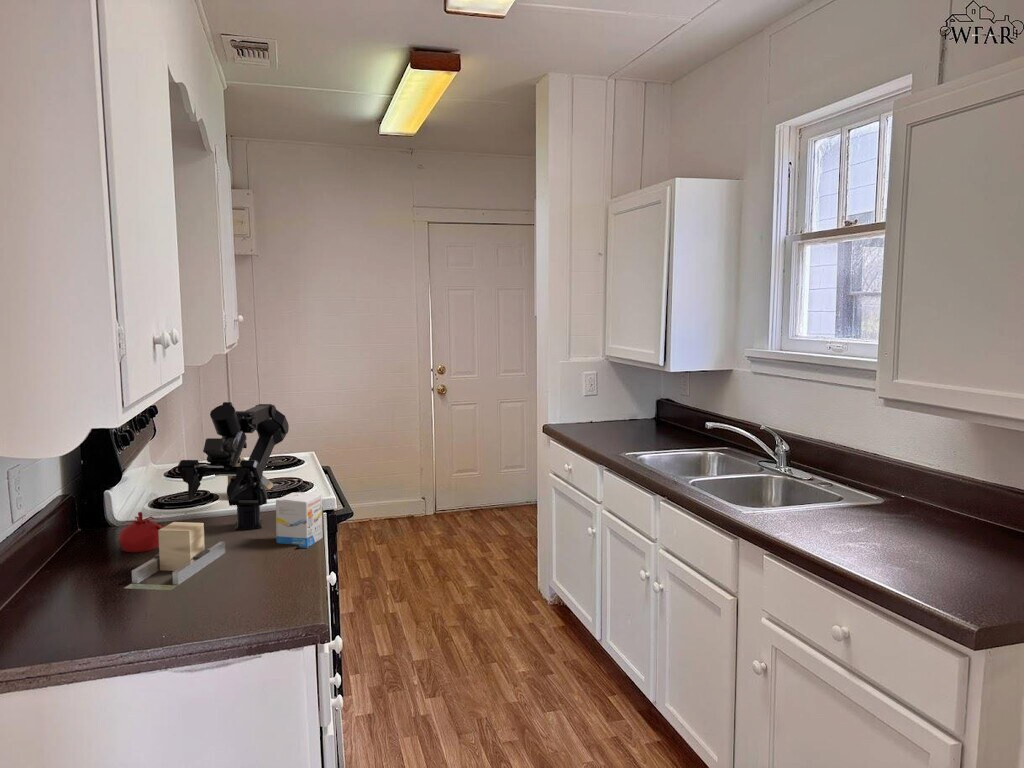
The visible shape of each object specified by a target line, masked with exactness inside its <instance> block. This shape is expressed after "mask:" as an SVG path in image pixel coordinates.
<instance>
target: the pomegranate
mask: <svg viewBox="0 0 1024 768" xmlns="http://www.w3.org/2000/svg"><path fill="white" fill-rule="evenodd" d="M137 515H138V516H134V519H136V520H126V521H123V522H121V523H122V524H125V523H128V522H129V523H130V524H127V525H126V526H125V527H123V529H121V531H120V532H119V537H118V542H119V544H120V548H121V550H122V551H123V552H127V553H134V554H135V553H144V552H149V551H153V550H155V549H159V533H158V530H159V529H161V528H163V526H162V525H161V524H158V522H157V521H155V517H153V516H149V517H147V518H146V517H145V519H143V518H144V517H143V512H142V511H138V512H137ZM153 520H154V521H153ZM156 520H159V519H158V518H156Z"/></svg>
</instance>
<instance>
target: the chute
mask: <svg viewBox="0 0 1024 768" xmlns="http://www.w3.org/2000/svg"><path fill="white" fill-rule="evenodd" d="M224 554H226V542H225V541H219V542H218V543H215V544H214V545H213V546H211V547H210V548H208V549H205V550H203V551H202V552H200V553H199V554H197V555H196V556H194V557H193V559H192V560H191V561H189V562H188V563H186V564H184V565H183V566H181V567H180V568H178V569H177V570H175V571H172V573H171V574H172V584H153V583H150V584H149V583H148V584H145V583H141V582H142V581H144V580H146V579H148V578H149V577H151V576H153V574H156V573H157V572H159V571H161V570H160V557H159V552H158V553H157V554H155V555H154V556H153V558H151V559H150V560H148V561H146V562H144V563H142V564H141V565H139V566H137V567H135V568H134V569H132V570H131V583H130V584H128V585H127V586H125V587H124V589H130V590H133V589H135V590H152V591H153V590H157V591H158V590H159V591H172V590H173V589H175V588H176V587H178V586H179V585H181V584H182V583H183V582H185V581H186V580H188V579H190V577H192V576H194V575H196V573H198V572H199V571H201V570H202V569H204V568H206V566H208V565H209V564H211V563H213V562H214V561H216V560H217V559H219V558H220V557H221V556H223V555H224Z"/></svg>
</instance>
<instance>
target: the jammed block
mask: <svg viewBox="0 0 1024 768" xmlns="http://www.w3.org/2000/svg"><path fill="white" fill-rule="evenodd" d="M204 527H205V525H204V522H186V521H185V522H182V521H180V522H179V521H173V522H171V523H169V524H167V525H166V526H162V528H161V529H159V530H158V533H159V548H158V553H159V557H160V570H159V571H165V572H166V571H172V572H174V571H175V570H177V569H178V568H180V567H181V566H183V565H184V564H186V563H188V562H189V561H191V560H192V559H193V557H194V556H196V555H197V554H199V553H200V552H202V551H203V550H206V549H205V548H206V547H205V528H204Z"/></svg>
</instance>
